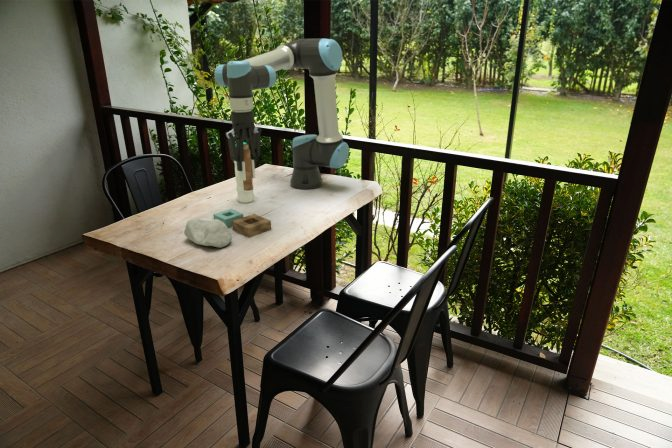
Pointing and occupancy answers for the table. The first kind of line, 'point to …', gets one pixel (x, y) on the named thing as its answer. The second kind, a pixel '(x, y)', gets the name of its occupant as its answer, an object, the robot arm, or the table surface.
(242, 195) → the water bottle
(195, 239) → the decorative stone
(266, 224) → the brown square socket block
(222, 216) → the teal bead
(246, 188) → the brown wooden square peg
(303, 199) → the table surface
